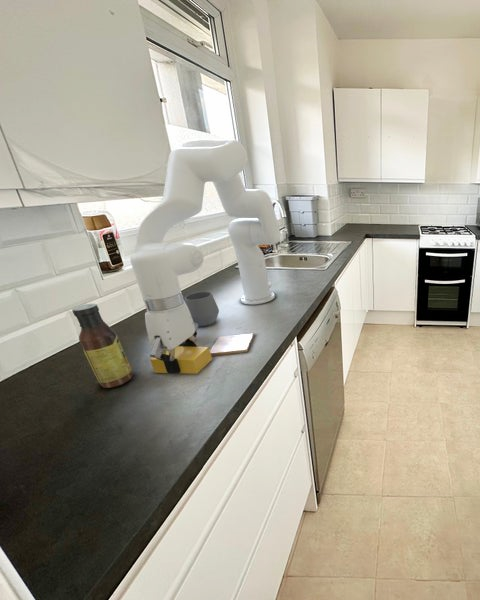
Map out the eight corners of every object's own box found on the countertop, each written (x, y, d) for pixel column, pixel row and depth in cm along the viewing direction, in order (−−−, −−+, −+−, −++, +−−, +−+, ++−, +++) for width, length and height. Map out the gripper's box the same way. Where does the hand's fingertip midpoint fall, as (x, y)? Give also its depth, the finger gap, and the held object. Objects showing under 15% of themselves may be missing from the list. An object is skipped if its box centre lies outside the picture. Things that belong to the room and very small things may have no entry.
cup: (186, 331, 100) (178, 302, 96) (191, 319, 108) (184, 292, 104) (220, 326, 103) (213, 298, 100) (222, 315, 111) (216, 289, 107)
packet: (172, 358, 85) (168, 346, 84) (212, 359, 85) (208, 346, 83) (154, 372, 79) (150, 359, 78) (197, 373, 79) (193, 360, 77)
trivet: (219, 338, 96) (218, 336, 95) (254, 335, 98) (253, 333, 97) (208, 356, 86) (207, 353, 86) (247, 351, 89) (246, 349, 88)
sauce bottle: (140, 376, 78) (112, 303, 70) (111, 392, 72) (78, 314, 65) (122, 371, 80) (93, 299, 72) (93, 386, 74) (58, 310, 67)
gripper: (174, 288, 83) (191, 346, 90) (118, 316, 67) (143, 384, 74) (202, 289, 83) (217, 347, 90) (152, 317, 67) (174, 385, 74)
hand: (183, 363), depth 82 cm, fingers closed on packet, 6 cm apart
